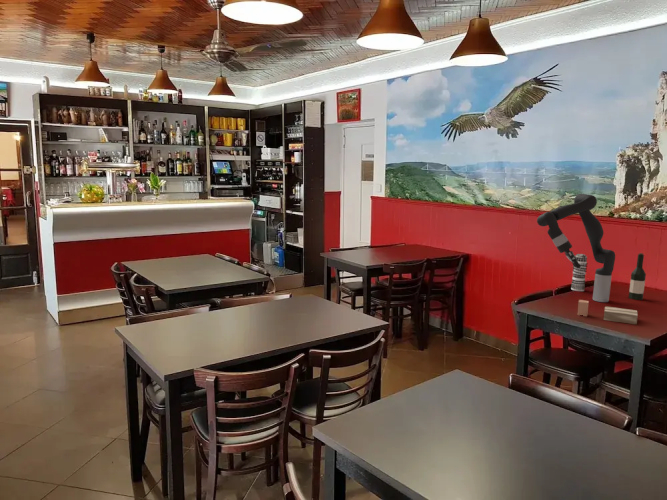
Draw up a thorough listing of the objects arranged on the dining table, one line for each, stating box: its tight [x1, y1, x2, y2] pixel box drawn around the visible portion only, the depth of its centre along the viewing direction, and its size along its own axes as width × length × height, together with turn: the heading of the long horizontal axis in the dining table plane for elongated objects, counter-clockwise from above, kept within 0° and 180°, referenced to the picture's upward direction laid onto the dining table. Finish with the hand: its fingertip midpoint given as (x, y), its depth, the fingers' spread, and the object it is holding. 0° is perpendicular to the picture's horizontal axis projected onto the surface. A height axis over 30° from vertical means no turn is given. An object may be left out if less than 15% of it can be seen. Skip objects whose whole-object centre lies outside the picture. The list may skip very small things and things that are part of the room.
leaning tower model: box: [570, 253, 588, 292], centre depth 357 cm, size 9×9×25 cm
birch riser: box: [603, 306, 639, 325], centre depth 289 cm, size 12×16×5 cm
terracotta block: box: [577, 299, 590, 317], centre depth 296 cm, size 5×5×8 cm
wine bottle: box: [628, 252, 647, 301], centre depth 335 cm, size 8×8×30 cm
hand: (577, 266), depth 296 cm, fingers open, 8 cm apart
